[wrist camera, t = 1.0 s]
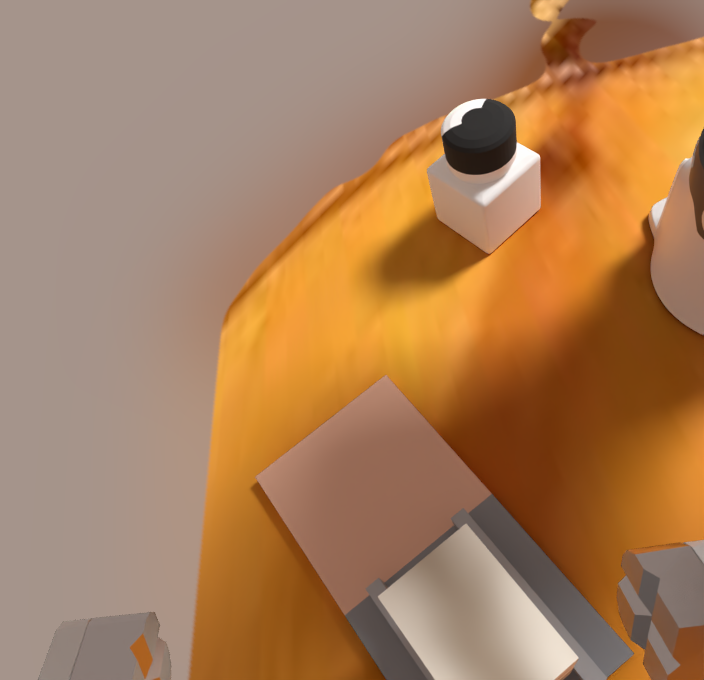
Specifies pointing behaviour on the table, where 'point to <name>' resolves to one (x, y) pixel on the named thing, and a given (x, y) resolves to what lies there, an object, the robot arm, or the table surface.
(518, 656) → the block
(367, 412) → the chute
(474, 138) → the medicine bottle
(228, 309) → the table surface
